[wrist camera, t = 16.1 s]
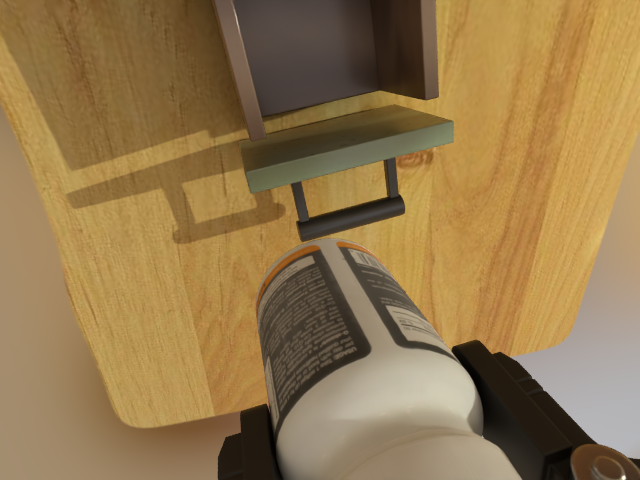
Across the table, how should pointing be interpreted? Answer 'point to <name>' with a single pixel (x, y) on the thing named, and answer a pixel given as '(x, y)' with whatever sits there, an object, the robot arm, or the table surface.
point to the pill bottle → (364, 376)
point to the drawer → (332, 93)
